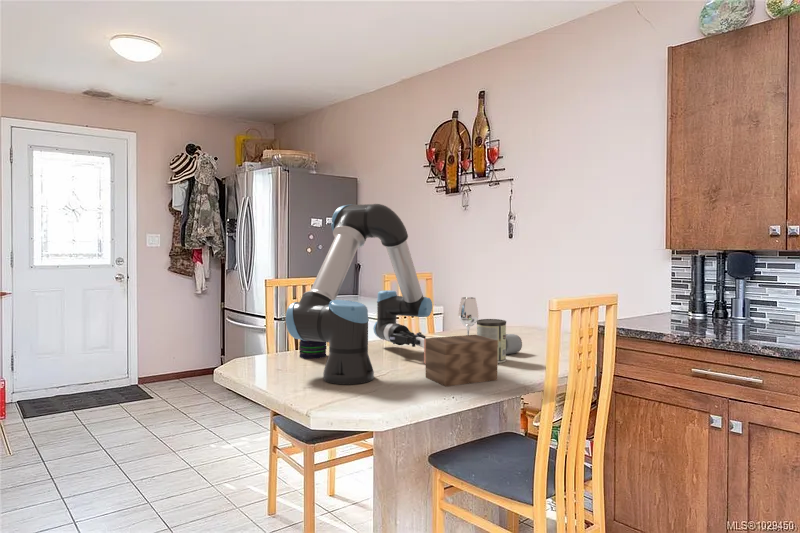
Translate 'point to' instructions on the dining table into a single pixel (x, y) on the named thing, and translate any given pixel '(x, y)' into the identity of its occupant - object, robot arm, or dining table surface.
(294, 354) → the dining table surface
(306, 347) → the storage jar
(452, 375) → the block
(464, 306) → the wineglass
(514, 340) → the ceramic mug
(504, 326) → the coffee can
